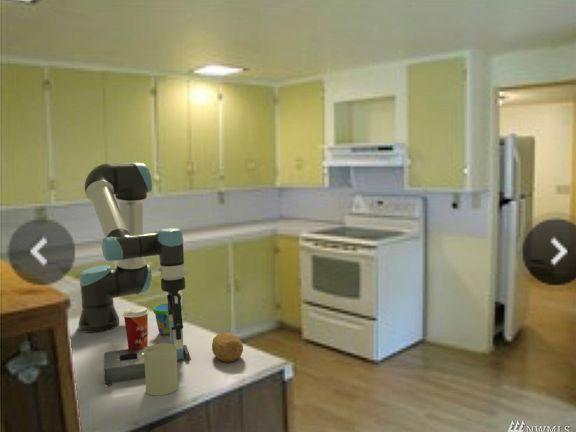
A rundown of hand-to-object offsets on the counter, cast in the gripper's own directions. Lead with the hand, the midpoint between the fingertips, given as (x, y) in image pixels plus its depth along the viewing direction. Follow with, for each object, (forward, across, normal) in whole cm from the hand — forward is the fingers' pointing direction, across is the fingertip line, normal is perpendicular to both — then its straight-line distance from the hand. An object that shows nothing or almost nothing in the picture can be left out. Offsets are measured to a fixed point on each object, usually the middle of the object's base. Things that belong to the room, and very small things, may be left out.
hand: (176, 341), depth 165 cm
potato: (+6, +6, +15) cm, 18 cm away
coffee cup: (+6, -11, -12) cm, 17 cm away
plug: (+5, 0, 0) cm, 5 cm away
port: (+6, +5, -15) cm, 17 cm away
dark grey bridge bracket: (+6, 0, 0) cm, 6 cm away
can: (+6, +20, -6) cm, 22 cm away
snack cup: (+6, -28, 0) cm, 28 cm away
